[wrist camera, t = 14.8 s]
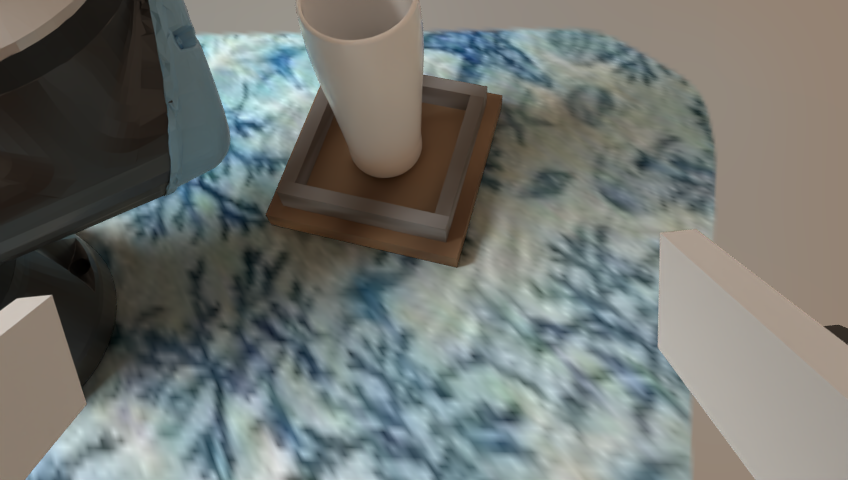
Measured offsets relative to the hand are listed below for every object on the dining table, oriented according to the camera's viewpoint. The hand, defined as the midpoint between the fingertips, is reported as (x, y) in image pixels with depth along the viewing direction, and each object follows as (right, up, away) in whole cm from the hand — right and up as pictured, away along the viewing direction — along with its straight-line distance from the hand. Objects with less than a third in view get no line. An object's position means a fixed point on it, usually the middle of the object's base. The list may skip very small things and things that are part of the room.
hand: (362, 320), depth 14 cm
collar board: (-1, +8, +35) cm, 36 cm away
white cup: (-1, +8, +34) cm, 35 cm away
